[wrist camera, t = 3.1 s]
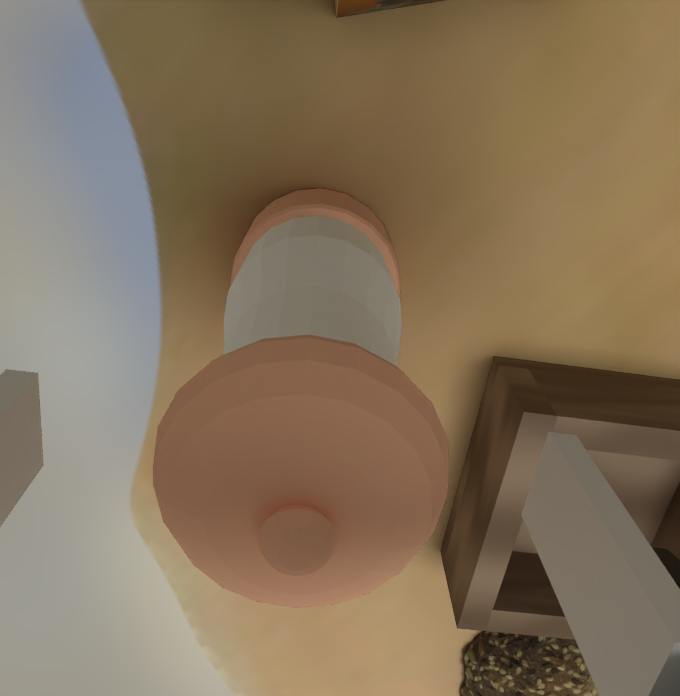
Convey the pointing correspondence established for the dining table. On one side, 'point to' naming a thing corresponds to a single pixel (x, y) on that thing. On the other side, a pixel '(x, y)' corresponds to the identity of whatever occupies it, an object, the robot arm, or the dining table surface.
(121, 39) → the dining table surface
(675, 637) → the robot arm
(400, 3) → the milk carton
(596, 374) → the square wooden tray
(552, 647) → the bread roll
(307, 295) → the pepper shaker
